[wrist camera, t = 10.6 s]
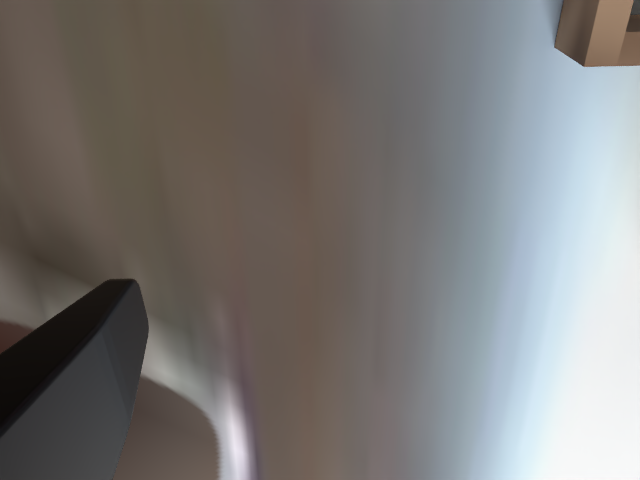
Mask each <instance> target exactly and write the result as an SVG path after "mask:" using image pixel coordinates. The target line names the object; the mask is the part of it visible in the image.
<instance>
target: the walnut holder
mask: <svg viewBox="0 0 640 480" xmlns="http://www.w3.org/2000/svg"><path fill="white" fill-rule="evenodd" d="M633 2H634V0H564V2H563V7H562V12H561V17H560V22H559V27H558V32H557V37H556V42H555V48H556V49H558V50H559V51H561V52H562V53H564V54H565V55H567V56H568V57H570V58H571V59H573V60H575V61H576V62H578V63H579V64H581V65H582V66H584V67H596V66H637V65H640V15H630V13H631V9H632V5H633Z"/></svg>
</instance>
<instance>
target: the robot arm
mask: <svg viewBox="0 0 640 480" xmlns="http://www.w3.org/2000/svg"><path fill="white" fill-rule="evenodd" d="M148 331H149V325H148V318H147V314H146V310H145V306H144V302H143V298H142V294H141V290H140V287H139V284H138V283H137V281H136V280H134V279H109V280H107V281H105V282H103V283H102V284H101V285H99V286H98V287H96V288H95V289H93V290H92V291H90V292H89V293H88V294H86V295H85V296H83V297H82V298H80V299H79V300H77V301H76V302H75V303H73V304H72V305H70V306H69V307H67V308H66V309H64V310H63V311H61V312H60V313H59V314H57V315H56V316H54V317H53V318H51V319H50V320H48V321H47V322H46V323H44V324H43V325H41V326H40V327H38V328H37V329H35V330H34V331H33V332H31V333H30V334H28V335H27V336H25V337H24V338H22V339H21V340H20V341H18V342H17V343H15V344H14V345H12V346H11V347H9V348H8V349H7V350H5V351H4V352H2V353H1V354H0V480H113V477H114V473H115V471H116V468H117V464H118V461H119V458H120V455H121V452H122V449H123V446H124V443H125V440H126V437H127V433H128V430H129V426H130V422H131V418H132V414H133V409H134V404H135V399H136V394H137V389H138V384H139V378H140V374H141V369H142V364H143V359H144V354H145V349H146V344H147V339H148Z"/></svg>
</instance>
